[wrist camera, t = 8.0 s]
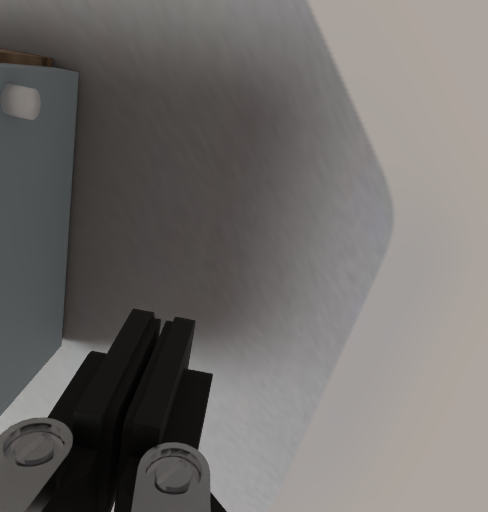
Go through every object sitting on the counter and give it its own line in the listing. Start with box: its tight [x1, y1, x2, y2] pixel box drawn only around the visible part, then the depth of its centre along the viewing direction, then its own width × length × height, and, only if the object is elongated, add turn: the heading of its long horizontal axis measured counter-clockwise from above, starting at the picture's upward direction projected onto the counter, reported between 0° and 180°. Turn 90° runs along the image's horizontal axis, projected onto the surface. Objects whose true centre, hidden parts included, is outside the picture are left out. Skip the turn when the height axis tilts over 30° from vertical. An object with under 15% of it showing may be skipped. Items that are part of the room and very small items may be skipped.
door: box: [0, 63, 79, 416], centre depth 22 cm, size 17×2×12 cm, turn 169°
